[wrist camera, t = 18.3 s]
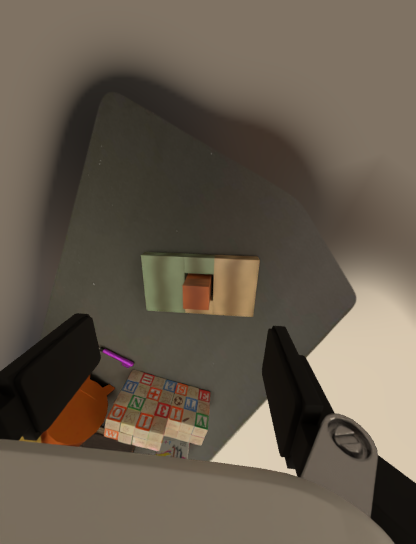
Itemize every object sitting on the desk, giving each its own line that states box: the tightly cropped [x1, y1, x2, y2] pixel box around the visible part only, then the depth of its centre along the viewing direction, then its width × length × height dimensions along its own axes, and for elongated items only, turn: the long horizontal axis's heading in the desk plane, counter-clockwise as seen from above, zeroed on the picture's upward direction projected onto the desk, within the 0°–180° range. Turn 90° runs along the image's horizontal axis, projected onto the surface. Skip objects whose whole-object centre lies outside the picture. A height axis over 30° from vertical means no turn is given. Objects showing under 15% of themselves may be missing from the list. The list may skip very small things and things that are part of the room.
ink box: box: [156, 436, 190, 459], centre depth 53 cm, size 9×9×12 cm
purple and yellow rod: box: [99, 347, 134, 368], centre depth 48 cm, size 3×1×16 cm
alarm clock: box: [19, 375, 115, 447], centre depth 44 cm, size 13×6×20 cm, turn 47°
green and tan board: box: [141, 252, 260, 317], centre depth 39 cm, size 22×12×2 cm, turn 89°
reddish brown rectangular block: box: [183, 273, 212, 310], centre depth 37 cm, size 5×5×7 cm
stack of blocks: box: [104, 370, 210, 451], centre depth 46 cm, size 21×6×12 cm, turn 74°
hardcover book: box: [82, 426, 135, 453], centre depth 63 cm, size 16×23×2 cm
